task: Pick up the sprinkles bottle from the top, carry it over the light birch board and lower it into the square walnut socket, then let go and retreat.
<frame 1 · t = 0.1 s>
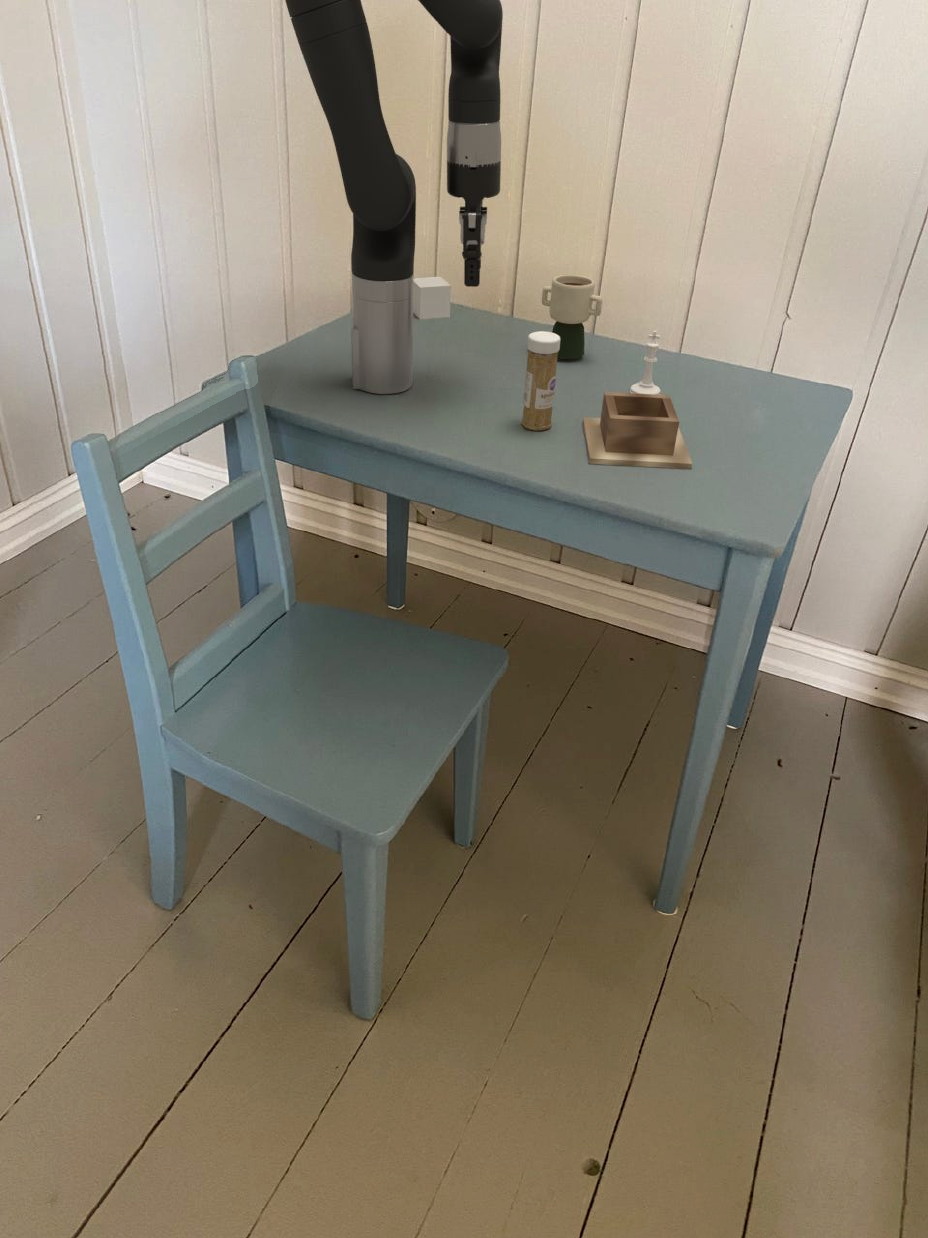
hand: (472, 277, 138), 17 cm above the table, tool pointing down, fingers open, 8 cm apart
chess piece: (644, 394, 150), on the table
white cube: (430, 314, 178), on the table
sprinkles bottle: (536, 426, 137), on the table
socket: (634, 444, 133), on the table
character mug: (565, 357, 162), on the table
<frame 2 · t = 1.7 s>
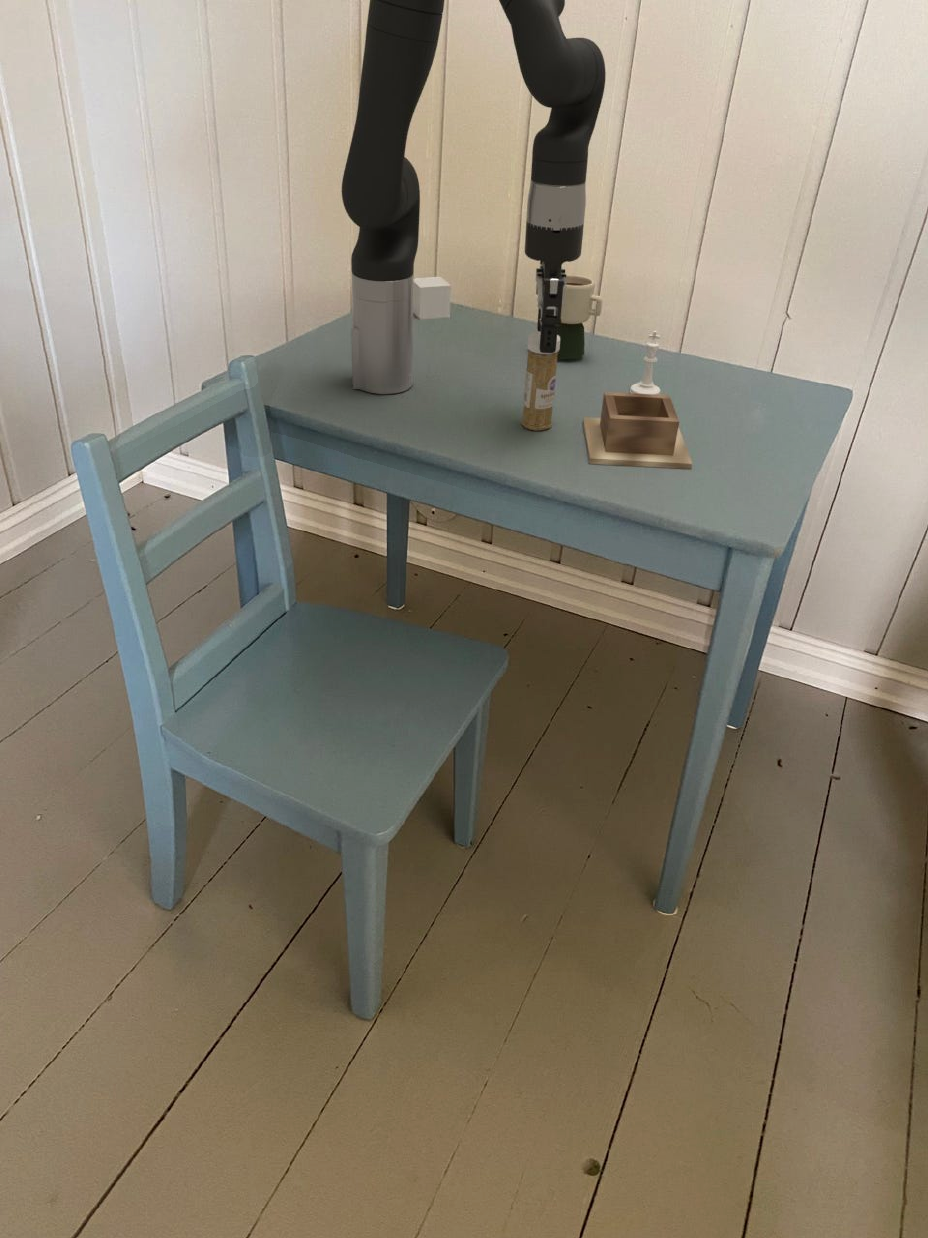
hand: (546, 341, 130), 13 cm above the table, tool pointing down, fingers open, 8 cm apart
nothing on the table moved.
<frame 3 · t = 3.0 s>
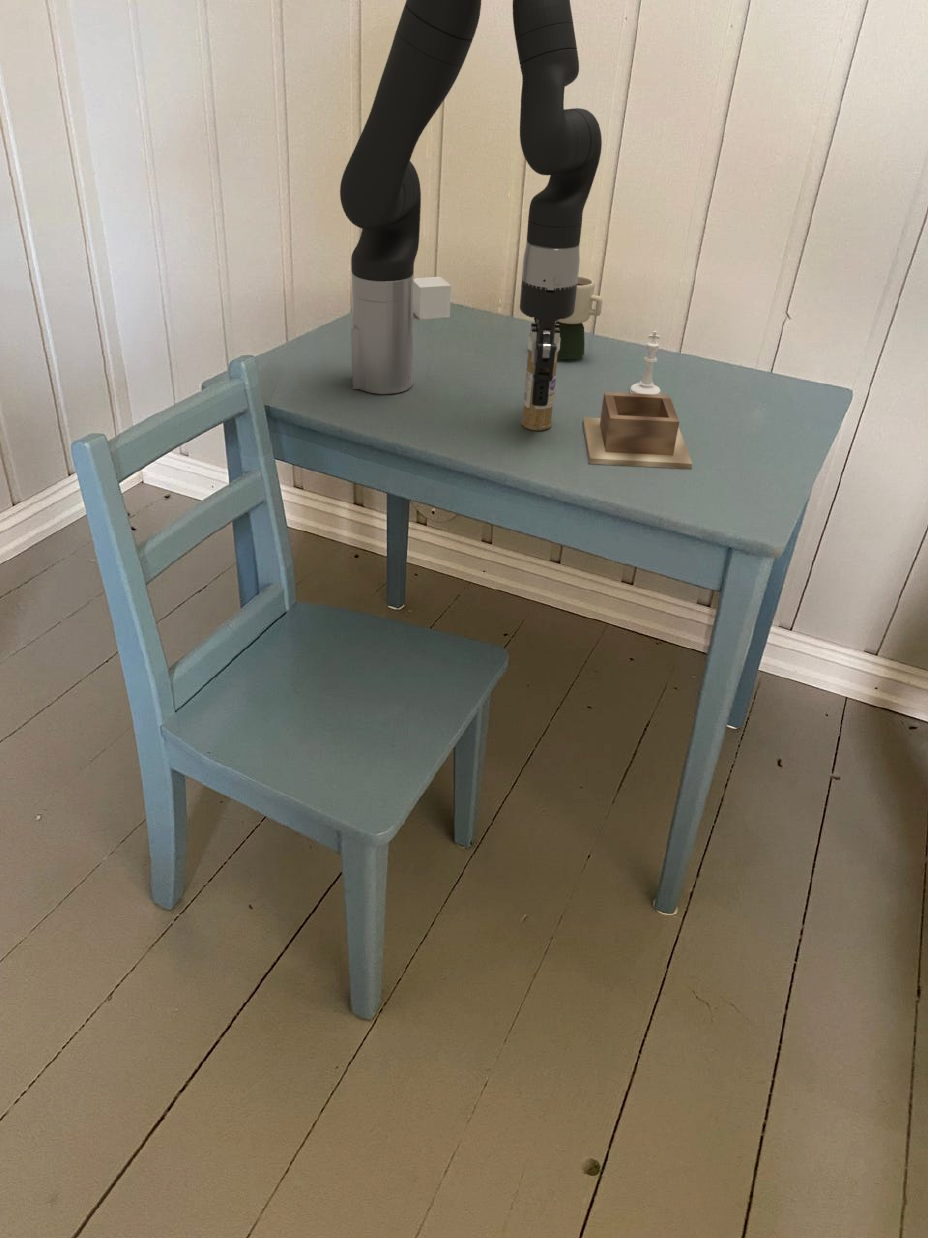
hand: (538, 397, 135), 4 cm above the table, tool pointing down, fingers closed on sprinkles bottle, 4 cm apart
sprinkles bottle: (536, 426, 137), on the table, touching gripper
everything else where it was.
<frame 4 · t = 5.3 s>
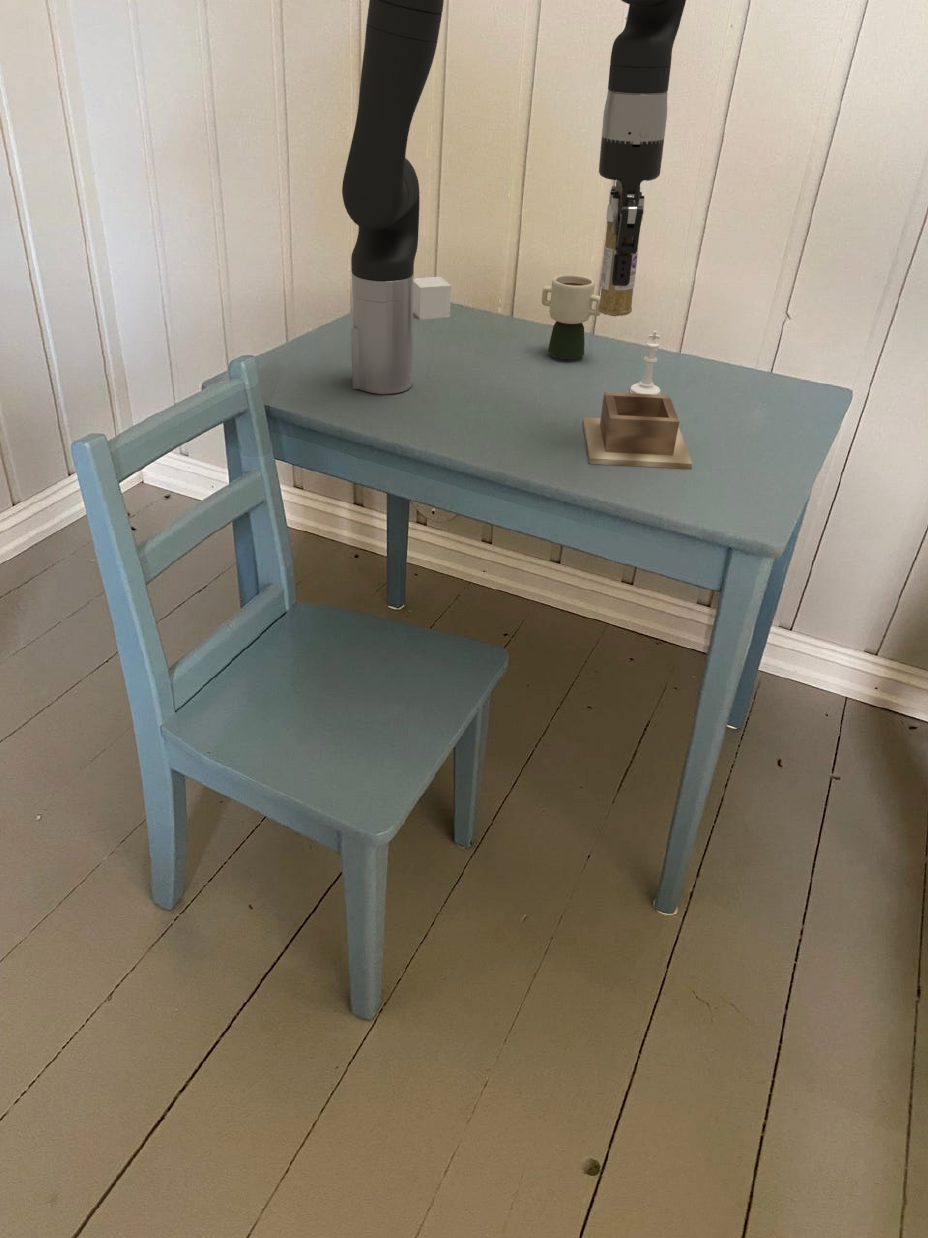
hand: (618, 278, 122), 22 cm above the table, tool pointing down, fingers closed on sprinkles bottle, 4 cm apart
sprinkles bottle: (614, 313, 124), point 18 cm above the table, touching gripper
everything else where it was.
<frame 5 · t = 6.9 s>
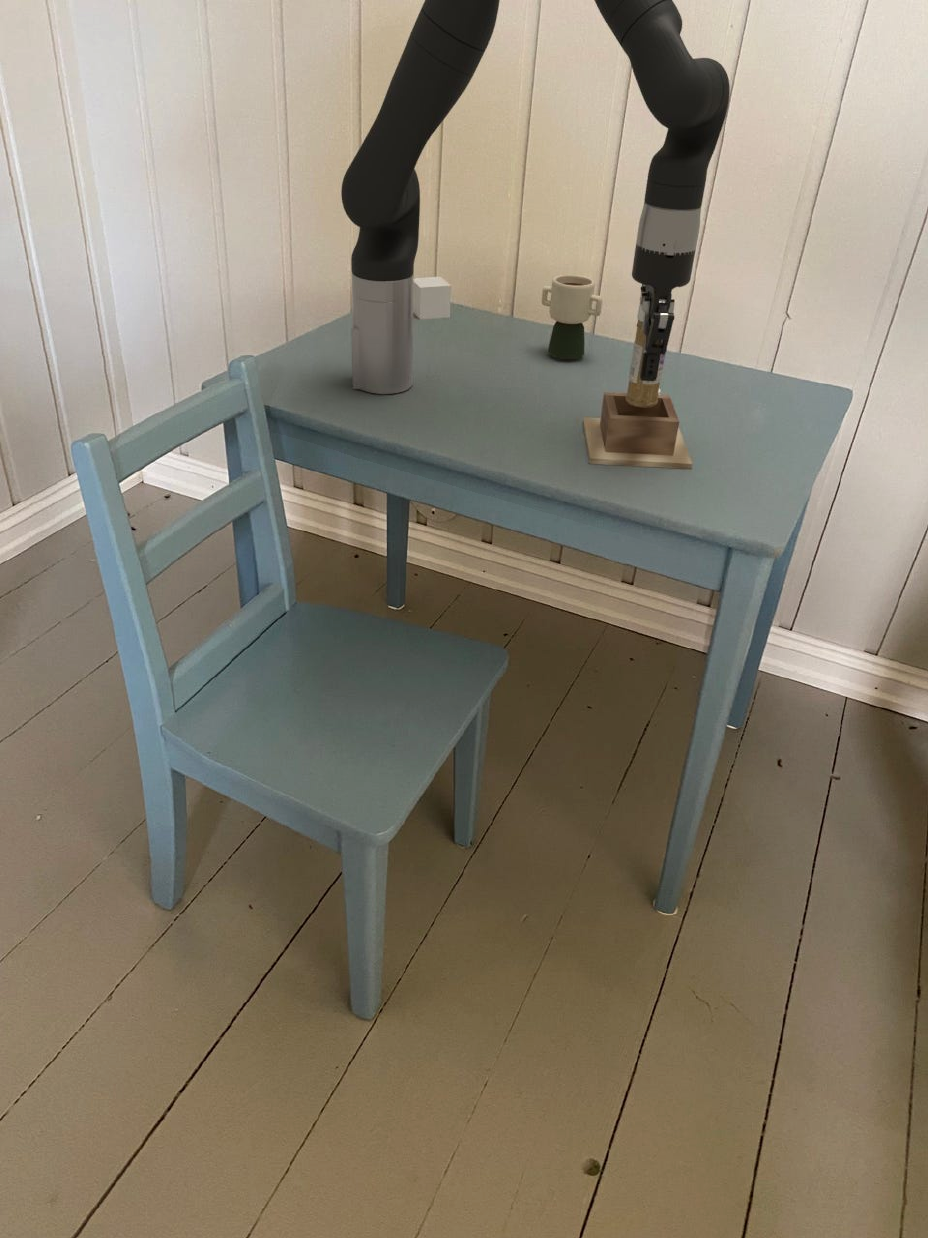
hand: (645, 372, 127), 11 cm above the table, tool pointing down, fingers closed on sprinkles bottle, 4 cm apart
sprinkles bottle: (640, 403, 130), point 6 cm above the table, touching gripper
everything else where it was.
when the fingers open (7 cm above the table, at t = 7.9 s): sprinkles bottle drops 2 cm, resting on socket.
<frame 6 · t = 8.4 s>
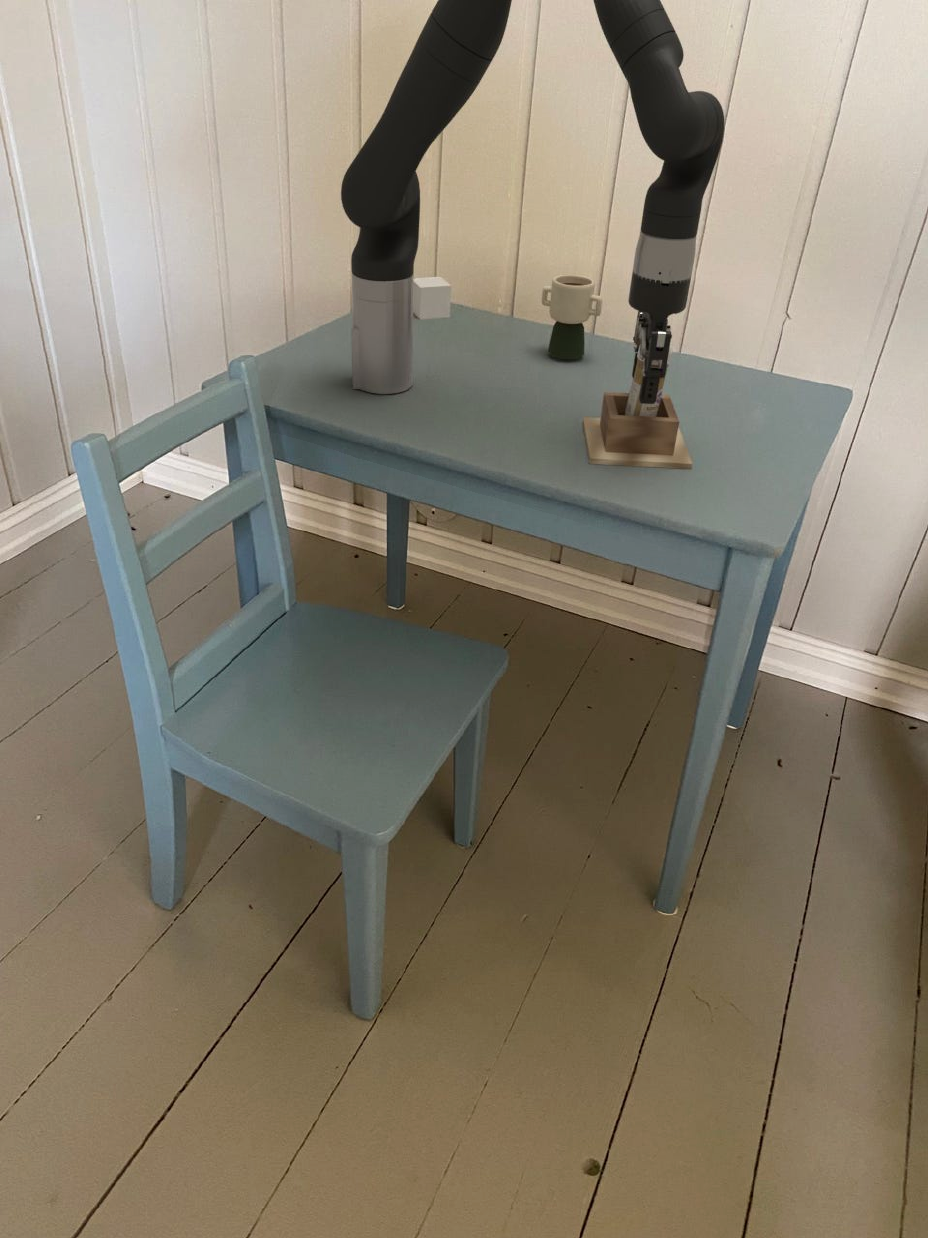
hand: (643, 390, 128), 8 cm above the table, tool pointing down, fingers open, 8 cm apart
sprinkles bottle: (634, 439, 133), point 1 cm above the table, touching socket
everything else where it was.
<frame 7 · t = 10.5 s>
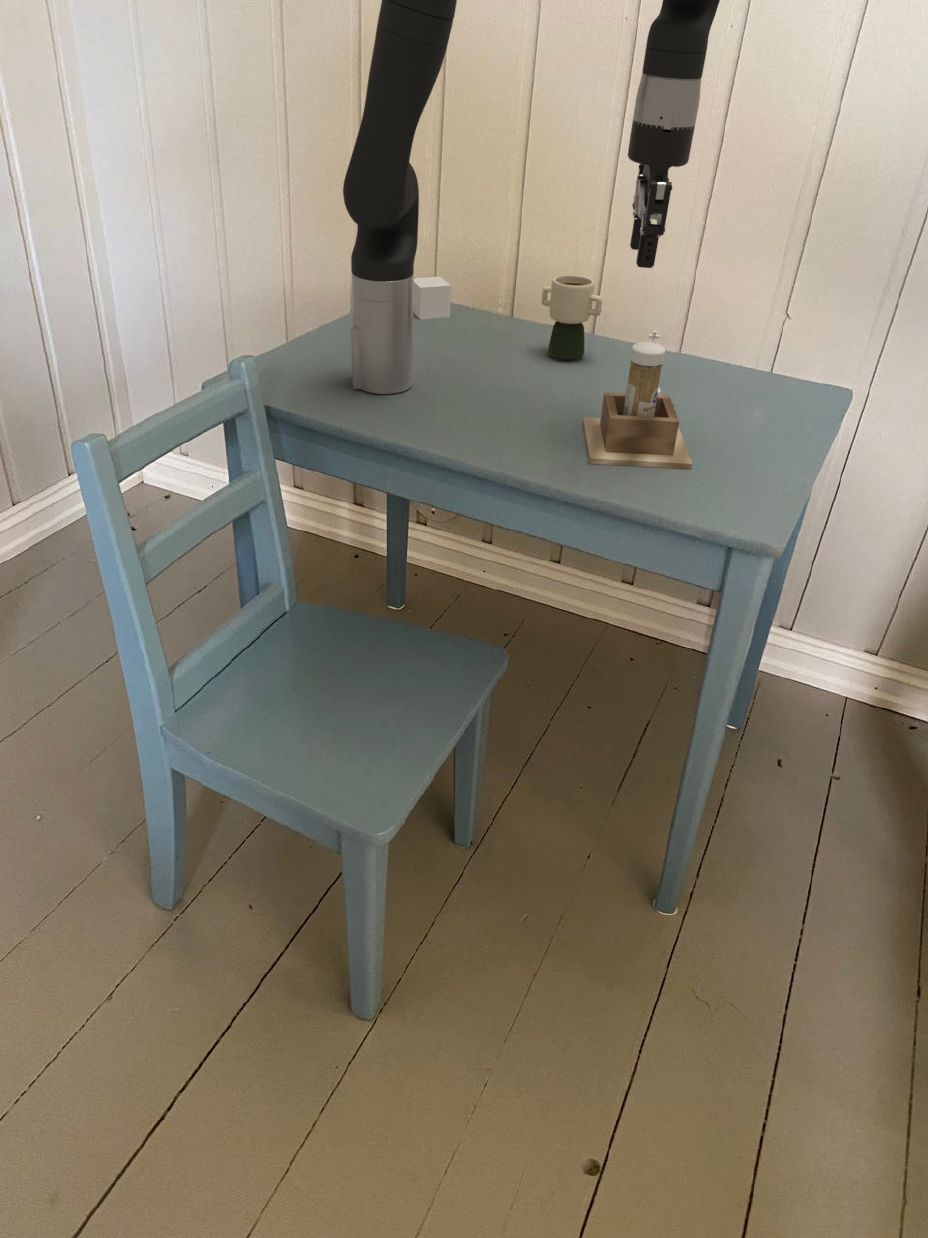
hand: (641, 257, 122), 25 cm above the table, tool pointing down, fingers open, 8 cm apart
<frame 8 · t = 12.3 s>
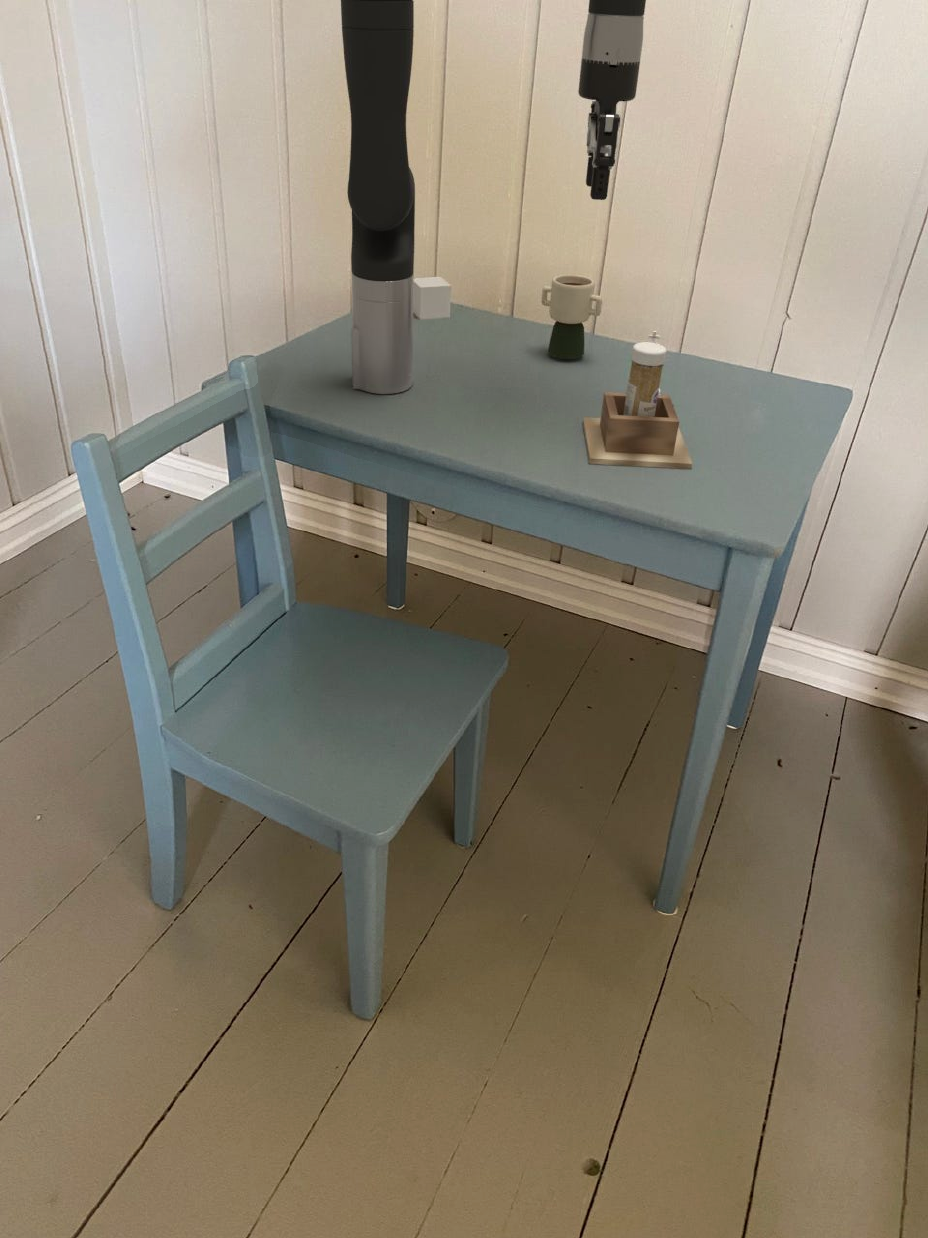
hand: (595, 192, 129), 30 cm above the table, tool pointing down, fingers open, 8 cm apart
nothing on the table moved.
at the end: sprinkles bottle 0.1 cm off-centre on the socket, point 0.6 cm above the socket's base; sprinkles bottle tilted 0°; the gripper is holding nothing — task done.
